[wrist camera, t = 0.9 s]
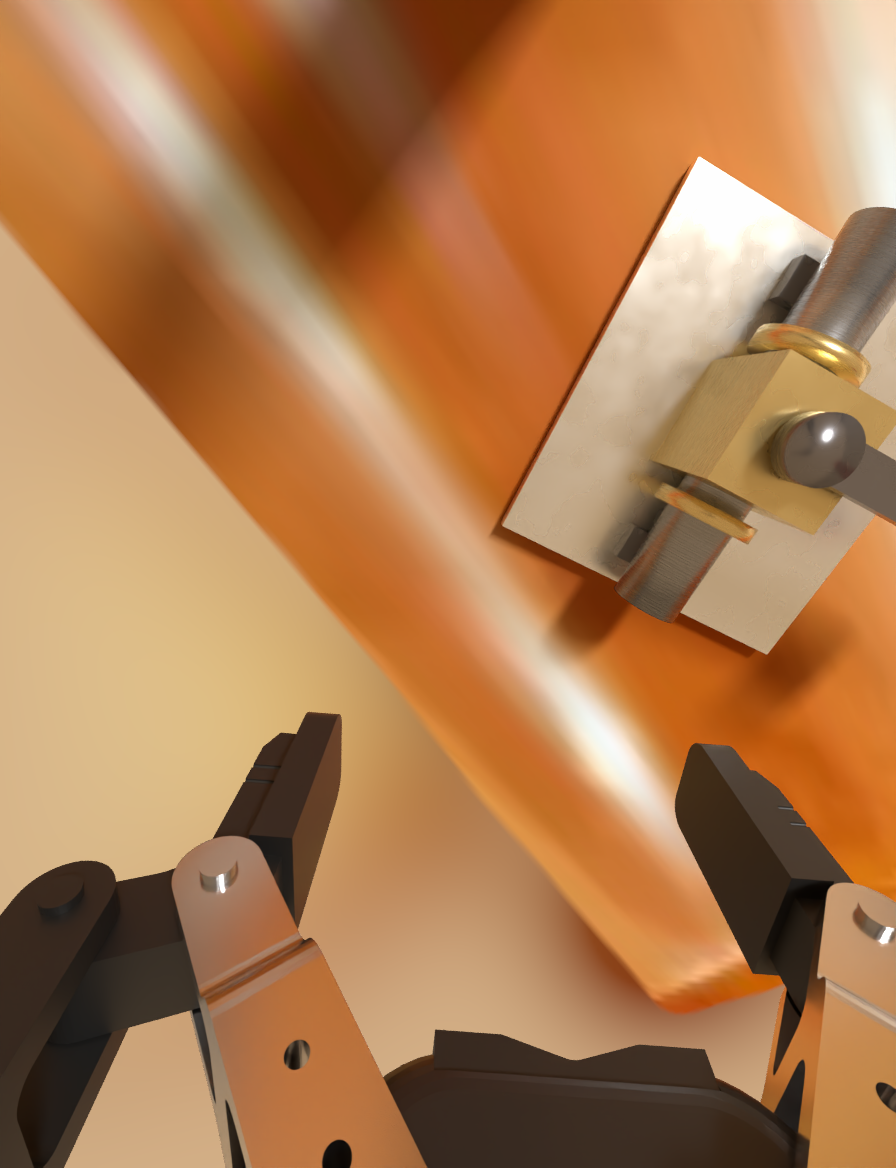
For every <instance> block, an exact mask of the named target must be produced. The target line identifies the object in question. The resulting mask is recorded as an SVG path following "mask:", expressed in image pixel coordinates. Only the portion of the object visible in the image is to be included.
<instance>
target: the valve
mask: <svg viewBox="0 0 896 1168" xmlns="http://www.w3.org/2000/svg"><path fill="white" fill-rule="evenodd" d="M811 411H822V412H840V413H845V414H848V415H851V416H853V417H854V418H855V419H857V420H858V421H859V423H860V424H861V425H862V427H863V429H864V432H865V436H866V444H868V445H869V446H871V447H873V448H875V449H877V450H878V451H880V452H882V453H884V454H885V455H887V456H889V457H891V458H892V459H894V460H896V209H894V208H886V207H873V208H866V209H862V210H859V211H857V212H855V213H853V214H852V215H851V216H850V217H849V218H848V220H847V221H846V223H845V225H844V226H843V228H842V229H841V231H840V232H839V234H838V236H837V237H836V239H835V240H834V241H833V240H831V239H830V238H828V237H827V236H825V235H823V234H822V233H820V232H819V231H817V230H816V229H814V228H812V227H811V226H809V225H808V224H806V223H804V222H803V221H801V220H800V219H798V218H796V217H795V216H793V215H792V214H790V213H788V212H787V211H785V210H784V209H782V208H780V207H779V206H777V205H776V204H774V203H772V202H771V201H769V200H768V199H766V198H764V197H763V196H761V195H760V194H758V193H756V192H755V191H753V190H752V189H750V188H748V187H747V186H745V185H744V184H742V183H740V182H739V181H737V180H736V179H734V178H732V177H731V176H729V175H728V174H726V173H724V172H723V171H721V170H720V169H718V168H716V167H715V166H713V165H712V164H710V163H708V162H707V161H705V160H704V159H702V158H700V157H698V158H697V159H696V160H695V161H694V162H693V163H692V164H691V165H690V167H689V169H688V171H687V172H686V174H685V176H684V178H683V180H682V182H681V184H680V186H679V188H678V189H677V191H676V193H675V195H674V197H673V199H672V201H671V203H670V204H669V206H668V208H667V210H666V212H665V214H664V216H663V218H662V220H661V221H660V223H659V225H658V227H657V229H656V231H655V233H654V235H653V236H652V238H651V240H650V242H649V244H648V246H647V248H646V250H645V252H644V253H643V255H642V257H641V259H640V261H639V263H638V265H637V267H636V268H635V270H634V272H633V274H632V276H631V278H630V280H629V282H628V284H627V285H626V287H625V289H624V291H623V293H622V295H621V297H620V299H619V300H618V302H617V304H616V306H615V308H614V310H613V312H612V314H611V316H610V317H609V319H608V321H607V323H606V325H605V327H604V329H603V331H602V332H601V334H600V336H599V338H598V340H597V342H596V344H595V346H594V348H593V349H592V351H591V353H590V355H589V357H588V359H587V361H586V363H585V364H584V366H583V368H582V370H581V372H580V374H579V376H578V378H577V380H576V381H575V383H574V385H573V387H572V389H571V391H570V393H569V395H568V396H567V398H566V400H565V402H564V404H563V406H562V408H561V410H560V412H559V413H558V415H557V417H556V419H555V421H554V423H553V425H552V427H551V428H550V430H549V432H548V434H547V436H546V438H545V440H544V442H543V444H542V445H541V447H540V449H539V451H538V453H537V455H536V457H535V459H534V460H533V462H532V464H531V466H530V468H529V470H528V472H527V474H526V476H525V477H524V479H523V481H522V483H521V485H520V487H519V489H518V491H517V493H516V494H515V496H514V498H513V500H512V502H511V504H510V506H509V508H508V509H507V511H506V513H505V515H504V517H503V519H502V521H501V524H502V526H503V527H505V528H508V529H510V530H512V531H514V532H516V533H518V534H520V535H522V536H524V537H526V538H528V539H530V540H532V541H534V542H536V543H538V544H540V545H542V546H545V547H547V548H549V549H551V550H553V551H555V552H557V553H559V554H561V555H563V556H565V557H567V558H569V559H571V560H573V561H575V562H577V563H579V564H582V565H584V566H586V567H588V568H590V569H592V570H594V571H596V572H598V573H600V574H602V575H604V576H606V577H608V578H610V579H612V580H614V581H616V582H617V584H616V586H615V587H614V589H615V591H616V592H617V593H618V594H619V595H620V596H621V597H623V598H624V599H625V600H627V601H628V602H629V603H631V604H632V605H634V606H636V607H637V608H639V609H640V610H642V611H644V612H646V613H647V614H649V615H651V616H653V617H655V618H657V619H660V620H662V621H665V622H668V623H673V622H674V621H675V619H676V618H677V616H678V615H679V613H682V614H684V615H686V616H688V617H690V618H692V619H694V620H697V621H699V622H701V623H703V624H705V625H707V626H709V627H711V628H713V629H715V630H717V631H719V632H721V633H723V634H725V635H727V636H729V637H731V638H734V639H736V640H738V641H740V642H742V643H744V644H746V645H748V646H750V647H752V648H754V649H756V650H758V651H760V652H762V653H764V654H766V655H767V654H768V653H769V652H770V650H771V649H772V648H773V646H774V645H775V644H776V643H777V641H778V640H779V639H780V637H781V636H782V635H783V634H784V632H785V631H786V630H787V628H788V627H789V626H790V624H791V623H792V622H793V621H794V619H795V618H796V617H797V615H798V614H799V613H800V612H801V610H802V609H803V608H804V606H805V605H806V604H807V603H808V601H809V600H810V599H811V597H812V596H813V595H814V594H815V592H816V591H817V590H818V588H819V587H820V586H821V585H822V583H823V582H824V581H825V579H826V578H827V577H828V576H829V574H830V573H831V572H832V570H833V569H834V568H835V567H836V565H837V564H838V563H839V561H840V560H841V559H842V558H843V556H844V555H845V554H846V552H847V551H848V550H849V549H850V547H851V546H852V545H853V543H854V542H855V541H856V540H857V538H858V537H859V536H860V534H861V533H862V532H863V531H864V529H865V528H866V527H867V525H868V524H869V523H870V522H871V520H872V519H873V518H874V516H875V514H873V513H872V512H870V511H868V510H866V509H864V508H862V507H861V506H859V505H857V504H855V503H853V502H851V501H850V500H848V499H846V498H844V497H842V496H841V495H839V494H837V493H835V492H833V491H831V490H830V489H828V488H810V487H806V486H803V485H799V484H795V483H791V482H788V481H786V480H784V479H782V478H781V477H780V476H778V475H777V473H776V472H775V470H774V469H773V466H772V463H771V457H770V454H771V446H772V443H773V440H774V438H775V436H776V434H777V433H778V431H779V430H780V429H781V427H782V426H783V425H784V424H785V423H787V422H788V421H789V420H790V419H792V418H793V417H795V416H797V415H799V414H802V413H805V412H811Z"/></svg>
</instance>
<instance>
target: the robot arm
mask: <svg viewBox="0 0 896 1168" xmlns="http://www.w3.org/2000/svg"><path fill="white" fill-rule="evenodd" d="M341 731H342V720H341V715H340V714H328V713H327V714H326V713H314V712H308V713H307V714H306V715H305V717H304V719H303V721H302V723H301V726H300V728H299V730H298V732H297V734H289V733H280V734H279V735H277V736H276V737H275V738H274V739H272V740H271V741H270V742H269V743H267V744H266V745H265V746H264V747H263V748H262V750H261V752H260V754H259V755H258V757H257V759H256V761H255V763H254V766H253V768H251V770H250V772H249V774H248V775H247V777H246V781H245V782H244V783H243V785H242V786H241V788H240V790H239V792H238V794H237V796H236V797H235V799H234V801H233V803H232V805H231V806H230V808H229V810H228V812H227V814H226V816H225V817H224V819H223V821H222V823H221V825H220V826H219V828H218V830H217V832H216V834H215V835H214V837H213V839H211V840H208V841H206V842H204V843H202V844H200V845H198V846H197V847H195V848H194V849H192V850H191V851H190V852H189V853H187V854H186V855H185V856H184V857H183V858H182V860H181V861H180V862H179V863H178V865H177V867H176V868H175V869H172V870H169V871H166V872H162V873H158V874H154V875H149V876H144V877H138V878H134V879H128V880H123V881H118V882H116V879H115V875H114V873H113V871H112V869H110V867H109V866H107V865H105V864H103V863H100V862H97V861H79V862H73V863H69V864H66V865H62V866H60V867H57V868H55V869H52V870H50V871H48V872H46V873H44V874H43V875H41V876H39V877H38V878H36V879H35V880H33V881H32V882H31V883H29V884H28V885H27V886H26V887H25V888H24V889H22V890H21V891H20V893H18V894H17V896H16V897H15V898H14V899H13V900H12V901H11V903H10V904H9V905H8V907H7V908H6V909H5V910H4V912H3V913H2V914H1V915H0V1168H64V1166H65V1164H66V1162H67V1160H68V1158H69V1155H70V1153H71V1151H72V1149H73V1147H74V1145H75V1143H76V1140H77V1138H78V1136H79V1134H80V1132H81V1130H82V1127H83V1125H84V1123H85V1121H86V1119H87V1117H88V1114H89V1112H90V1110H91V1108H92V1106H93V1104H94V1101H95V1099H96V1097H97V1094H98V1093H99V1091H100V1088H101V1086H102V1084H103V1082H104V1080H105V1078H106V1075H107V1073H108V1071H109V1069H110V1067H111V1065H112V1062H113V1060H114V1058H115V1056H116V1054H117V1051H118V1050H119V1047H120V1045H121V1043H122V1041H123V1039H124V1037H125V1034H126V1032H127V1030H128V1028H129V1027H132V1026H136V1025H139V1024H143V1023H147V1022H150V1021H153V1020H158V1019H161V1018H165V1017H168V1016H172V1015H175V1014H179V1013H182V1012H186V1011H190V1014H191V1018H192V1022H193V1026H194V1030H195V1035H196V1039H197V1043H198V1047H199V1051H200V1055H201V1059H202V1063H203V1068H204V1071H205V1076H206V1079H207V1084H208V1087H209V1092H210V1096H211V1100H212V1104H213V1108H214V1113H215V1117H216V1122H217V1126H218V1131H219V1136H220V1141H221V1147H222V1152H223V1157H224V1162H225V1167H226V1168H896V903H895V902H894V901H892V900H891V899H889V898H888V897H886V896H884V895H882V894H881V893H879V892H877V891H874V890H872V889H870V888H867V887H864V886H861V885H858V884H854V883H853V881H852V880H851V879H850V878H849V876H848V875H847V874H846V873H845V871H844V870H843V869H842V868H841V866H840V865H839V864H838V863H837V861H836V860H835V859H834V858H833V856H832V855H831V854H830V853H829V851H828V850H827V849H826V848H825V846H824V845H823V844H822V843H821V841H820V840H819V839H818V838H817V836H816V835H815V834H814V833H813V831H812V830H811V829H810V828H809V827H806V823H805V821H804V820H803V819H802V818H801V816H800V815H799V814H798V813H797V811H794V810H793V806H792V805H791V804H790V803H789V801H788V800H787V799H786V798H785V796H784V795H783V794H782V793H781V791H780V790H779V789H778V788H777V787H776V786H775V785H773V784H772V783H771V782H769V781H768V780H767V779H766V778H764V777H763V776H762V775H760V774H759V773H758V772H756V771H751V770H749V768H748V767H747V766H746V764H745V763H744V762H743V760H742V759H741V758H740V756H739V755H738V754H737V753H736V751H735V750H734V749H733V748H732V747H730V746H724V745H711V744H699V743H695V744H693V745H692V746H691V748H690V749H689V752H688V756H687V759H686V763H685V766H684V770H683V773H682V777H681V780H680V784H679V787H678V791H677V794H676V799H675V812H676V818H677V822H678V825H679V827H680V829H681V831H682V833H683V835H684V837H685V839H686V841H687V843H688V845H689V847H690V849H691V851H692V853H693V855H694V857H695V859H696V861H697V863H698V865H699V867H700V869H701V871H702V873H703V875H704V877H705V879H706V881H707V883H708V885H709V887H710V889H711V891H712V893H713V895H714V897H715V899H716V901H717V903H718V905H719V907H720V909H721V911H722V913H723V915H724V917H725V919H726V921H727V923H728V925H729V927H730V929H731V931H732V933H733V935H734V937H735V939H736V941H737V943H738V945H739V947H740V949H741V951H742V953H743V955H744V957H745V959H746V961H747V963H748V965H749V967H750V969H751V971H752V973H753V974H766V975H779V976H780V977H781V979H782V981H783V983H784V985H785V988H784V991H783V993H782V995H781V998H780V1002H779V1008H778V1014H777V1019H776V1024H775V1030H774V1036H773V1041H772V1047H771V1053H770V1058H769V1063H768V1069H767V1074H766V1080H765V1085H764V1090H763V1094H762V1098H761V1102H759V1101H757V1100H756V1099H754V1098H752V1097H751V1096H749V1095H748V1094H746V1093H744V1092H743V1091H741V1090H740V1089H738V1088H736V1087H734V1086H732V1085H730V1084H728V1083H726V1082H724V1081H722V1080H719V1079H717V1078H715V1076H714V1073H713V1070H712V1068H711V1065H710V1062H709V1060H708V1057H707V1054H706V1052H705V1050H704V1049H691V1048H677V1047H664V1046H649V1045H636V1046H632V1047H628V1048H624V1049H621V1050H616V1051H613V1052H609V1053H605V1054H601V1055H598V1056H594V1057H590V1058H586V1059H582V1060H569V1059H566V1058H563V1057H560V1056H558V1055H555V1054H552V1053H550V1052H547V1051H544V1050H541V1049H539V1048H536V1047H533V1046H531V1045H528V1044H526V1043H523V1042H520V1041H518V1040H515V1039H512V1038H509V1037H507V1036H504V1035H501V1034H487V1033H473V1032H460V1031H446V1030H435V1037H434V1046H433V1054H432V1055H428V1056H424V1057H420V1058H417V1059H415V1060H413V1061H410V1062H408V1063H406V1064H403V1065H401V1066H400V1067H398V1068H396V1069H395V1070H393V1071H392V1072H390V1073H388V1074H387V1075H385V1076H384V1077H383V1076H382V1074H381V1072H380V1070H379V1068H378V1066H377V1064H376V1062H375V1060H374V1058H373V1056H372V1054H371V1052H370V1050H369V1048H368V1045H367V1044H366V1041H365V1039H364V1037H363V1035H362V1033H361V1031H360V1029H359V1027H358V1025H357V1023H356V1021H355V1019H354V1017H353V1015H352V1013H351V1011H350V1009H349V1007H348V1005H347V1003H346V1000H345V998H344V996H343V994H342V992H341V990H340V988H339V986H338V984H337V982H336V980H335V978H334V976H333V974H332V972H331V970H330V968H329V966H328V964H327V962H326V959H325V957H324V955H323V953H322V951H321V950H320V948H319V946H318V945H317V943H316V942H315V941H314V940H313V939H312V938H308V939H307V940H304V939H303V938H302V937H301V935H300V933H299V931H298V927H299V924H300V920H301V917H302V914H303V910H304V907H305V904H306V900H307V897H308V894H309V890H310V887H311V883H312V880H313V877H314V873H315V870H316V867H317V863H318V860H319V857H320V854H321V850H322V847H323V844H324V840H325V837H326V833H327V830H328V827H329V823H330V820H331V817H332V813H333V810H334V807H335V803H336V800H337V796H338V791H339V785H340V778H341V735H342V734H341V733H342V732H341Z"/></svg>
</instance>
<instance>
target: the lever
mask: <svg viewBox="0 0 896 1168" xmlns="http://www.w3.org/2000/svg"><path fill="white" fill-rule="evenodd" d="M770 457H771V463H772V466H773V469H774V470H775V472H776V473H777V475H778V476H780V477H781V478H782V479H784V480H786V481H788V482H791V483H795V484H799V485H803V486H806V487H810V488H828V489H830V490H831V491H833V492H835V493H837V494H839V495H841V496H842V497H844V498H846V499H848V500H850V501H851V502H853V503H855V504H857V505H859V506H861V507H862V508H864V509H866V510H868V511H870V512H872V513H873V514H875V515H877V516H879V517H881V518H883V519H884V520H886V521H888V522H890V523H892V524H893V525H895V526H896V460H894V459H892V458H891V457H889V456H887V455H885V454H884V453H882V452H880V451H878V450H877V449H875V448H873V447H871V446H869V445H868V444H866V436H865V432H864V429H863V427H862V425H861V424H860V423H859V421H858V420H857V419H855V418H854V417H853V416H851V415H848V414H845V413H840V412H822V411H811V412H805V413H802V414H799V415H797V416H795V417H793V418H792V419H790V420H789V421H788V422H787V423H785V424H784V425H783V426H782V427H781V429H780V430H779V431H778V433H777V434H776V436H775V438H774V440H773V443H772V446H771V454H770Z"/></svg>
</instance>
